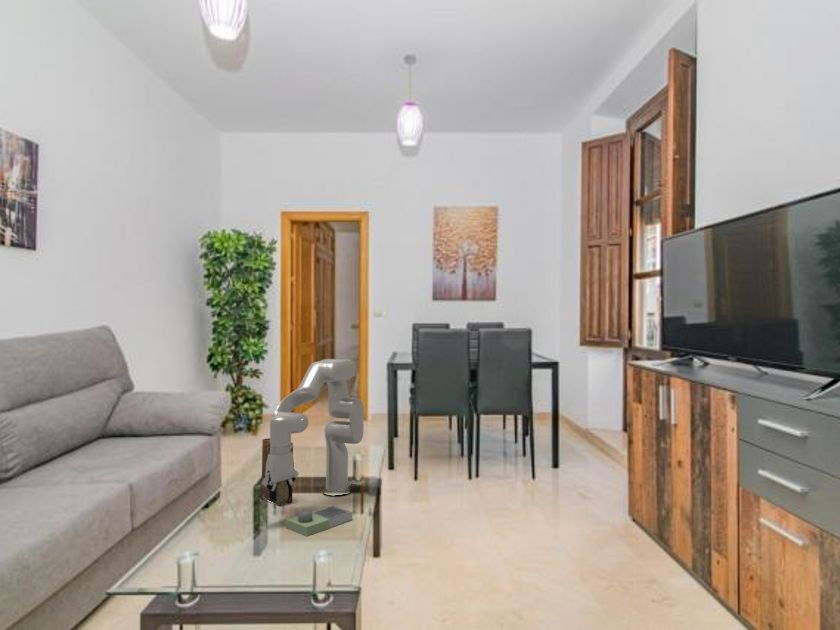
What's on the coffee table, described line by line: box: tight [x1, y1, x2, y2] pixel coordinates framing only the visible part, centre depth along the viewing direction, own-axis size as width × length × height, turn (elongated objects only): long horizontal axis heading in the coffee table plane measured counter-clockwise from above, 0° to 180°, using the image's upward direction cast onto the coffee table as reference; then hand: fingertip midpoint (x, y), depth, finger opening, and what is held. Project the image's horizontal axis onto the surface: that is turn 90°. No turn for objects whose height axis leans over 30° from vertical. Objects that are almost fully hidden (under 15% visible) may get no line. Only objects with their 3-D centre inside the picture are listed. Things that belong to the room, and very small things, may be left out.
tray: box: [312, 505, 353, 529], centre depth 193 cm, size 11×11×3 cm
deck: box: [285, 509, 330, 537], centre depth 185 cm, size 10×12×6 cm
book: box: [260, 437, 294, 507], centre depth 217 cm, size 16×6×25 cm, turn 47°
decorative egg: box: [275, 480, 289, 505], centre depth 191 cm, size 6×6×10 cm
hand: (280, 498), depth 191 cm, fingers closed on decorative egg, 6 cm apart
